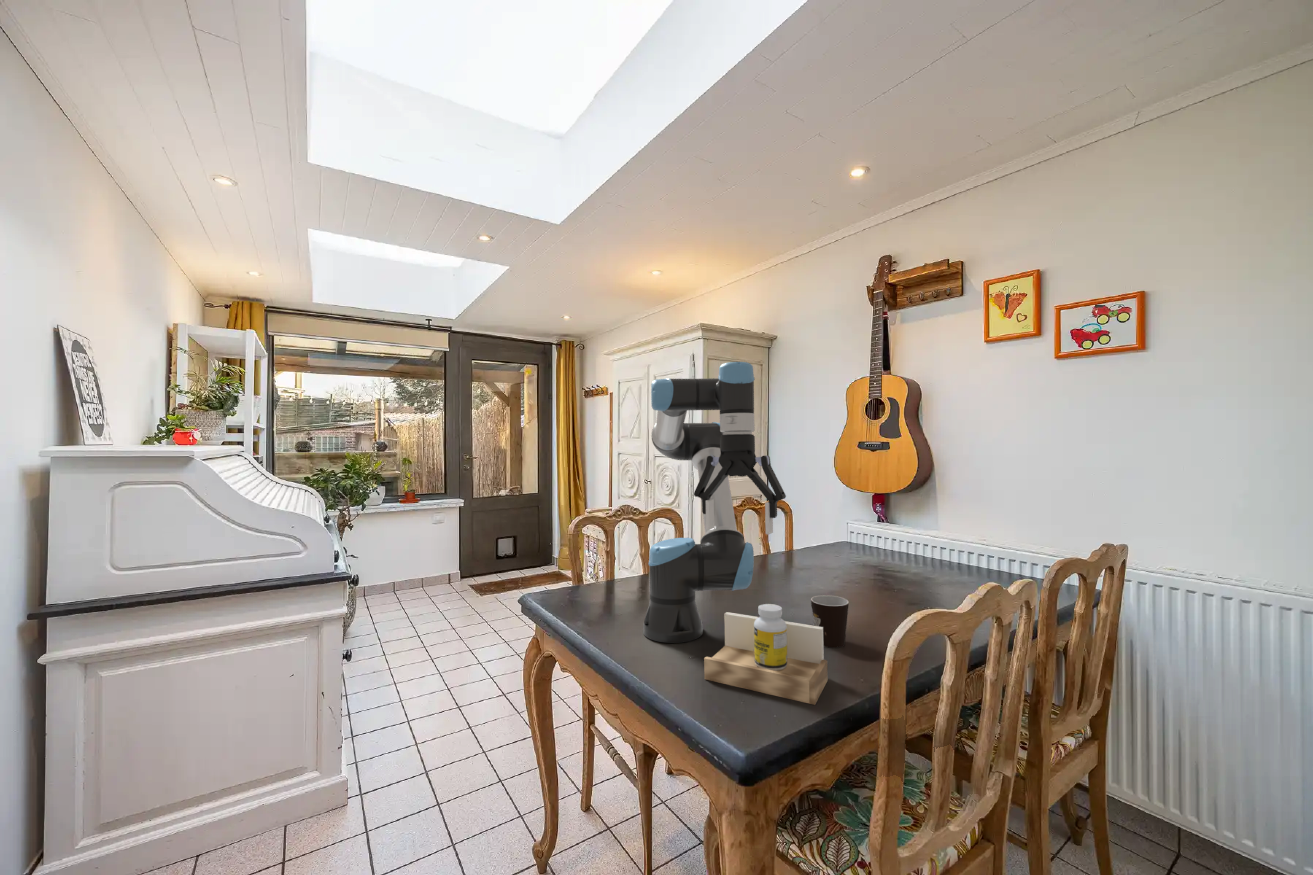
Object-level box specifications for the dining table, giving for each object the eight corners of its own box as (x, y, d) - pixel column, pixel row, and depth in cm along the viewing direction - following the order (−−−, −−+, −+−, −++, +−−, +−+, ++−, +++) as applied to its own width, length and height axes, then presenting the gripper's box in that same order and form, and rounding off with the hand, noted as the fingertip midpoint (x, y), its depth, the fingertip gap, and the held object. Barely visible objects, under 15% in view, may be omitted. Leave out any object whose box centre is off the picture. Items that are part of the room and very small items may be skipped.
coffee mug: (852, 650, 118) (851, 606, 118) (813, 648, 119) (812, 604, 120) (844, 632, 129) (843, 592, 129) (808, 630, 131) (808, 591, 131)
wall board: (725, 659, 114) (724, 613, 114) (727, 656, 115) (726, 611, 115) (822, 679, 103) (821, 629, 104) (824, 676, 105) (823, 627, 105)
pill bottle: (751, 659, 106) (749, 603, 107) (781, 658, 107) (780, 601, 107) (759, 673, 100) (758, 612, 100) (792, 671, 100) (790, 611, 101)
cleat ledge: (704, 679, 104) (704, 658, 104) (725, 659, 114) (724, 640, 114) (815, 704, 93) (814, 681, 93) (827, 680, 103) (827, 659, 103)
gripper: (678, 434, 115) (679, 529, 115) (789, 431, 103) (791, 538, 102) (693, 435, 122) (694, 525, 121) (799, 432, 109) (800, 532, 109)
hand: (738, 531), depth 112 cm, fingers open, 13 cm apart
